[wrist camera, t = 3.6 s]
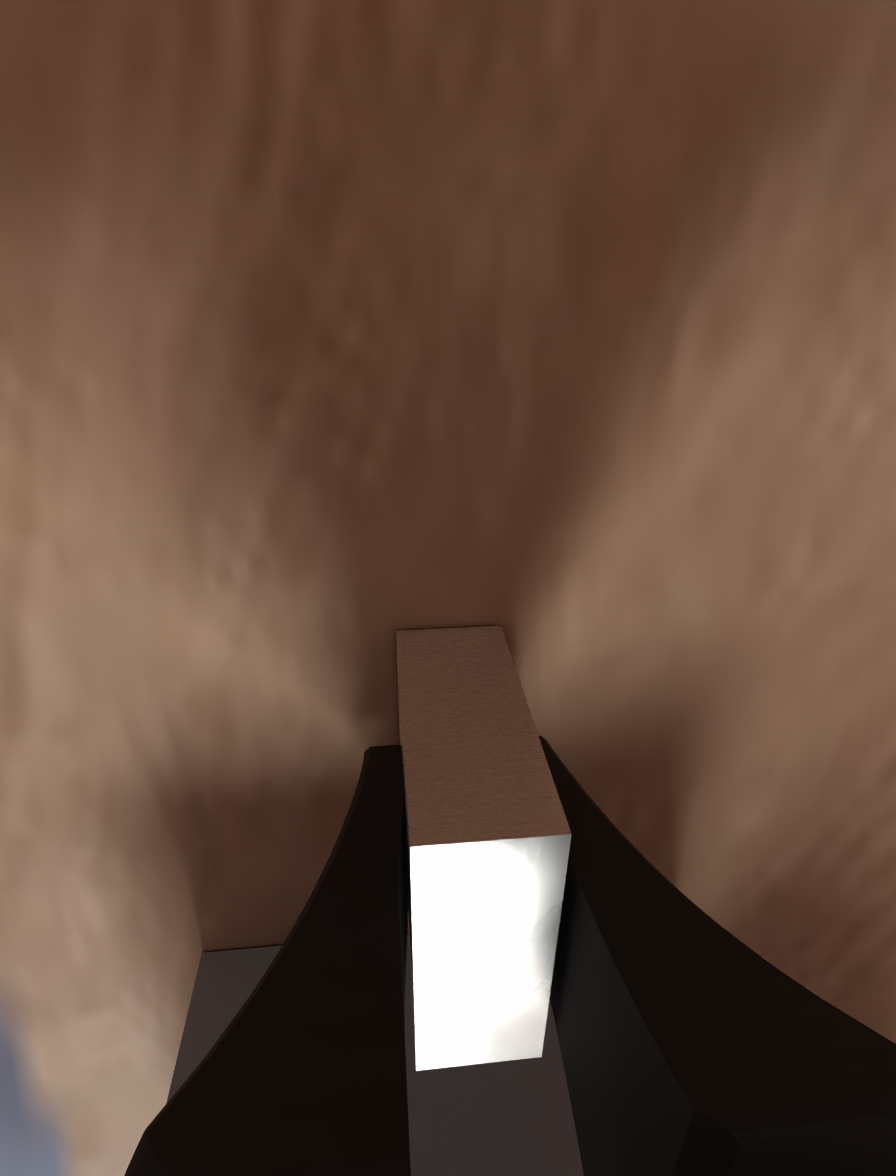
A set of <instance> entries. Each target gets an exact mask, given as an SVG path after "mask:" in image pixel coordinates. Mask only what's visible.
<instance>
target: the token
mask: <svg viewBox="0 0 896 1176" xmlns="http://www.w3.org/2000/svg"><path fill="white" fill-rule="evenodd" d="M396 644H397V674H398V703H399V733H400V745H401V748H402V762H403V776H404V792H405V823H406V855H407V887H408V932H409V950H410V969H411V987H412V1005H413V1024H414V1042H415V1060H416V1071H420V1070H429V1069H438V1068H447V1067H456V1066H465V1065H474V1064H483V1063H492V1062H501V1061H510V1060H519V1059H528V1058H537V1057H542V1050H543V1042H544V1035H545V1028H546V1020H547V1013H548V1005H549V998H550V990H551V983H552V976H553V968H554V961H555V953H556V946H557V939H558V931H559V924H560V916H561V909H562V901H563V894H564V887H565V879H566V872H567V864H568V857H569V849H570V842H571V835H572V834H571V831H570V828H569V825H568V822H567V819H566V816H565V813H564V810H563V807H562V805H561V802H560V799H559V796H558V793H557V790H556V787H555V784H554V781H553V778H552V775H551V772H550V769H549V766H548V763H547V760H546V757H545V754H544V751H543V748H542V745H541V742H540V739H539V736H538V733H537V730H536V728H535V725H534V722H533V719H532V716H531V713H530V710H529V707H528V704H527V701H526V698H525V695H524V692H523V689H522V686H521V683H520V680H519V677H518V674H517V671H516V668H515V665H514V662H513V659H512V656H511V654H510V651H509V648H508V645H507V642H506V639H505V636H504V633H503V630H502V627H501V626H489V627H468V628H446V629H425V630H404V631H396Z"/></svg>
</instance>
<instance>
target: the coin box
mask: <svg viewBox="0 0 896 1176" xmlns="http://www.w3.org/2000/svg"><path fill="white" fill-rule="evenodd" d="M281 947H282V945H281V946H270V947H259V948H248V949H237V950H227V951H216V952H205V953H202V955H201V960H200V964H199V968H198V972H197V976H196V981H195V985H194V989H193V993H192V998H191V1002H190V1006H189V1010H188V1015H187V1019H186V1023H185V1027H184V1032H183V1036H182V1040H181V1044H180V1049H179V1053H178V1057H177V1061H176V1065H175V1070H174V1074H173V1078H172V1082H171V1087H170V1091H169V1095H168V1099H167V1103H168V1102H169V1100H170V1099H171V1098H172V1097H173V1096H174V1094H175V1093H176V1092H177V1091H178V1089H179V1088H180V1087H181V1086H182V1085H183V1083H184V1082H185V1081H186V1080H187V1079H188V1077H189V1076H190V1075H191V1074H192V1072H193V1071H194V1070H195V1069H196V1068H197V1066H198V1065H199V1064H200V1063H201V1061H202V1060H203V1059H204V1057H205V1056H206V1055H207V1054H208V1052H209V1051H210V1050H211V1048H212V1047H213V1046H214V1044H215V1043H216V1042H217V1040H218V1039H219V1038H220V1036H221V1035H222V1033H223V1032H224V1031H225V1029H226V1028H227V1027H228V1025H229V1024H230V1022H231V1021H232V1020H233V1018H234V1017H235V1016H236V1014H237V1013H238V1011H239V1010H240V1009H241V1007H242V1006H243V1005H244V1003H245V1002H246V1000H247V999H248V998H249V996H250V995H251V993H252V992H253V990H254V989H255V987H256V986H257V984H258V983H259V981H260V980H261V978H262V977H263V975H264V974H265V972H266V971H267V969H268V968H269V966H270V964H271V963H272V961H273V960H274V958H275V956H276V955H277V953H278V952H279V950H280V948H281ZM405 1051H406V1075H407V1098H408V1121H409V1145H410V1168H411V1176H584V1174H583V1168H582V1162H581V1157H580V1151H579V1145H578V1140H577V1134H576V1129H575V1123H574V1118H573V1113H572V1107H571V1102H570V1097H569V1091H568V1086H567V1080H566V1075H565V1070H564V1065H563V1060H562V1055H561V1050H560V1045H559V1039H558V1034H557V1029H556V1024H555V1019H554V1015H553V1011H552V1007H551V1003H550V999H549V1005H548V1013H547V1020H546V1028H545V1035H544V1042H543V1050H542V1057H537V1058H528V1059H519V1060H510V1061H501V1062H492V1063H483V1064H474V1065H465V1066H456V1067H447V1068H438V1069H429V1070H420V1071H416V1060H415V1042H414V1024H413V1005H412V987H411V969H410V950H409V934H407V955H406V983H405Z"/></svg>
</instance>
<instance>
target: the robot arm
mask: <svg viewBox="0 0 896 1176" xmlns="http://www.w3.org/2000/svg"><path fill="white" fill-rule="evenodd" d="M539 739H540V742H541V745H542V748H543V751H544V754H545V757H546V760H547V763H548V766H549V769H550V772H551V775H552V778H553V781H554V784H555V787H556V790H557V793H558V796H559V799H560V802H561V805H562V807H563V810H564V813H565V816H566V819H567V822H568V825H569V828H570V831H571V834H572V835H571V842H570V849H569V857H568V864H567V872H566V879H565V887H564V894H563V901H562V909H561V916H560V924H559V931H558V939H557V946H556V953H555V961H554V968H553V976H552V983H551V990H550V998H549V999H550V1003H551V1007H552V1011H553V1015H554V1019H555V1024H556V1029H557V1034H558V1039H559V1045H560V1050H561V1055H562V1060H563V1065H564V1070H565V1075H566V1080H567V1086H568V1091H569V1097H570V1102H571V1107H572V1113H573V1118H574V1123H575V1129H576V1134H577V1140H578V1145H579V1151H580V1157H581V1162H582V1168H583V1174H584V1176H896V1044H895V1043H893V1042H891V1041H890V1040H888V1039H886V1038H885V1037H883V1036H882V1035H880V1034H878V1033H877V1032H875V1031H873V1030H872V1029H870V1028H868V1027H867V1026H865V1025H864V1024H862V1023H860V1022H859V1021H857V1020H855V1019H854V1018H852V1017H850V1016H849V1015H847V1014H846V1013H844V1012H842V1011H841V1010H839V1009H837V1008H836V1007H834V1006H832V1005H831V1004H829V1003H828V1002H826V1001H824V1000H823V999H821V998H820V997H818V996H817V995H815V994H814V993H812V992H811V991H809V990H808V989H806V988H805V987H803V986H802V985H800V984H799V983H797V982H796V981H794V980H793V979H792V978H790V977H789V976H787V975H786V974H784V973H783V972H781V971H780V970H778V969H777V968H775V967H774V966H773V965H771V964H770V963H769V962H767V961H766V960H764V959H763V958H762V957H761V956H759V955H758V954H757V953H755V952H754V951H753V950H751V949H750V948H749V947H747V946H746V945H745V944H744V943H742V942H741V941H740V940H738V939H737V938H736V937H734V936H733V935H732V934H730V933H729V932H728V931H727V930H725V929H724V928H723V927H721V926H720V925H719V924H717V923H716V922H715V921H714V920H713V919H712V918H710V917H709V916H708V915H707V914H706V913H704V912H703V911H702V910H701V909H700V908H699V907H697V906H696V905H695V904H694V903H693V902H691V901H690V900H689V899H688V898H687V897H686V896H685V895H684V894H683V893H681V892H680V891H679V890H678V889H677V888H676V887H675V886H674V885H673V884H671V883H670V882H669V881H668V880H667V879H666V878H665V877H664V876H663V875H662V874H661V873H660V872H659V871H658V870H657V869H656V868H655V867H654V866H653V865H652V864H651V863H650V862H649V861H648V860H647V859H646V858H645V857H644V856H643V855H642V854H641V853H640V852H639V851H638V850H637V849H636V848H635V847H634V846H633V845H632V844H631V843H630V842H629V841H628V840H627V839H626V838H625V837H624V835H623V834H622V833H621V832H620V831H619V830H618V829H617V828H616V827H615V826H614V824H613V823H612V822H611V821H610V820H609V819H608V818H607V816H606V815H605V814H604V813H603V812H602V811H601V809H600V808H599V807H598V806H597V805H596V804H595V803H594V801H593V800H592V799H591V798H590V797H589V795H588V794H587V793H586V792H585V791H584V789H583V788H582V787H581V786H580V784H579V783H578V782H577V781H576V779H575V778H574V777H573V776H572V774H571V773H570V772H569V770H568V769H567V768H566V766H565V765H564V764H563V763H562V761H561V760H560V759H559V757H558V756H557V754H556V753H555V752H554V750H553V749H552V748H551V746H550V745H549V743H548V742H547V741H546V740H545V739H544V738H543V737H542V736H539ZM407 927H408V887H407V855H406V823H405V792H404V776H403V762H402V748H401V745H389V746H374V747H370V748H368V749H367V750H366V751H365V752H364V760H363V765H362V770H361V774H360V778H359V781H358V785H357V788H356V791H355V794H354V797H353V800H352V803H351V806H350V809H349V811H348V814H347V816H346V819H345V821H344V824H343V827H342V829H341V832H340V834H339V837H338V839H337V842H336V844H335V846H334V848H333V850H332V853H331V855H330V857H329V859H328V861H327V863H326V865H325V868H324V870H323V872H322V874H321V876H320V878H319V880H318V882H317V884H316V886H315V888H314V890H313V892H312V894H311V896H310V898H309V900H308V902H307V904H306V905H305V907H304V909H303V911H302V913H301V914H300V916H299V918H298V920H297V922H296V923H295V925H294V927H293V929H292V930H291V932H290V934H289V935H288V937H287V939H286V940H285V942H284V944H283V945H282V947H281V948H280V950H279V952H278V953H277V955H276V956H275V958H274V960H273V961H272V963H271V964H270V966H269V968H268V969H267V971H266V972H265V974H264V975H263V977H262V978H261V980H260V981H259V983H258V984H257V986H256V987H255V989H254V990H253V992H252V993H251V995H250V996H249V998H248V999H247V1000H246V1002H245V1003H244V1005H243V1006H242V1007H241V1009H240V1010H239V1011H238V1013H237V1014H236V1016H235V1017H234V1018H233V1020H232V1021H231V1022H230V1024H229V1025H228V1027H227V1028H226V1029H225V1031H224V1032H223V1033H222V1035H221V1036H220V1038H219V1039H218V1040H217V1042H216V1043H215V1044H214V1046H213V1047H212V1048H211V1050H210V1051H209V1052H208V1054H207V1055H206V1056H205V1057H204V1059H203V1060H202V1061H201V1063H200V1064H199V1065H198V1066H197V1068H196V1069H195V1070H194V1071H193V1072H192V1074H191V1075H190V1076H189V1077H188V1079H187V1080H186V1081H185V1082H184V1083H183V1085H182V1086H181V1087H180V1088H179V1089H178V1091H177V1092H176V1093H175V1094H174V1096H173V1097H172V1098H171V1099H170V1100H169V1102H168V1103H167V1104H166V1105H165V1106H164V1108H163V1109H162V1110H161V1111H160V1112H159V1114H158V1115H157V1116H156V1117H155V1119H154V1120H153V1121H152V1122H151V1123H150V1125H149V1126H148V1127H147V1128H146V1130H145V1131H144V1133H143V1135H142V1137H141V1140H140V1142H139V1144H138V1146H137V1148H136V1150H135V1153H134V1155H133V1157H132V1159H131V1162H130V1164H129V1166H128V1168H127V1171H126V1173H125V1176H411V1168H410V1145H409V1121H408V1098H407V1075H406V1051H405V983H406V955H407Z"/></svg>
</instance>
